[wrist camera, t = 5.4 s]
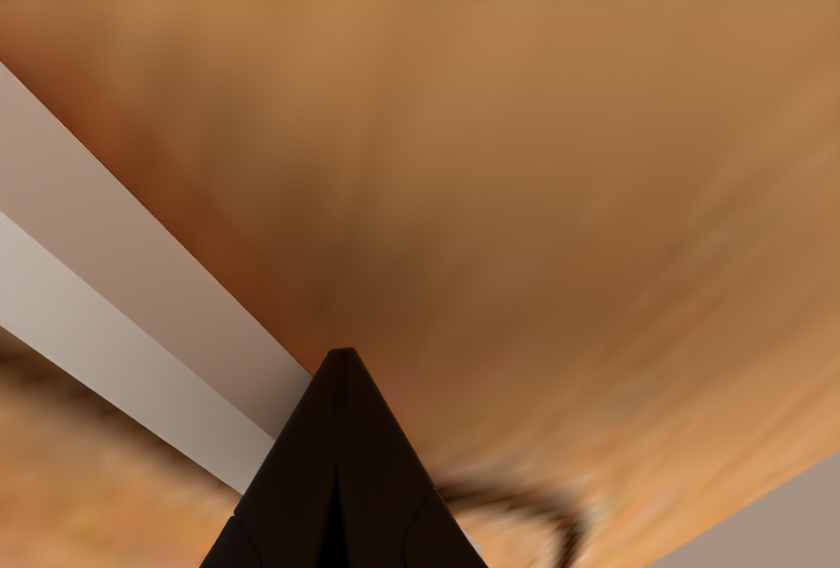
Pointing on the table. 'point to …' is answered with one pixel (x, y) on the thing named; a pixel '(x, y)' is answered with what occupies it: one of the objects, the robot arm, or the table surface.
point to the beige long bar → (131, 302)
